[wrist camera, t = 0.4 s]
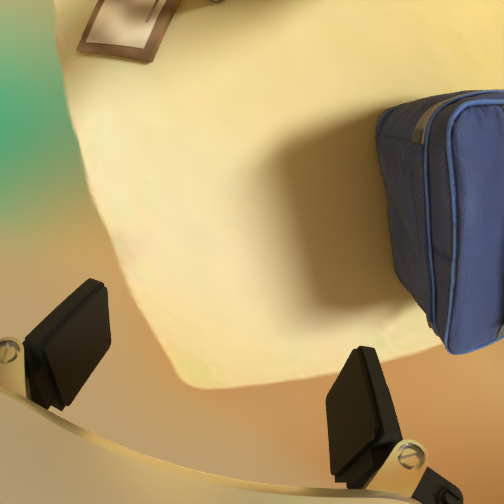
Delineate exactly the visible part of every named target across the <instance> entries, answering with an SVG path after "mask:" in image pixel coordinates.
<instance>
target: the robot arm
mask: <svg viewBox="0 0 504 504" xmlns="http://www.w3.org/2000/svg"><path fill="white" fill-rule="evenodd" d="M110 345H111V333H110V323H109V309H108V292H107V288H106V287H104V283H102V282H100V281H97V280H94V279H91V278H89V279H88V280H86V281H85V282H84V283H83V284H82V285H81V286H80V287H78V288H77V289H76V290H75V291H74V292H73V293H72V294H71V295H69V296H68V297H67V298H66V299H65V300H64V301H63V302H62V303H61V304H60V305H59V306H57V307H56V308H55V309H54V310H53V311H52V312H51V313H50V314H49V315H48V316H47V317H46V318H45V319H44V320H43V321H42V322H41V323H40V324H39V325H37V326H36V328H34V329H33V330H32V332H31V333H29V334H28V335H27V336H26V337H25V341H24V342H23V343H21V341H19V340H18V339H15V338H13V337H6V338H1V339H0V504H463V495H462V493H461V491H460V490H459V489H458V488H457V487H456V486H455V485H453V484H452V483H450V482H449V481H447V480H446V479H445V478H443V477H441V476H440V475H439V474H437V473H436V472H434V471H433V470H432V469H430V468H429V467H428V466H427V465H428V462H429V459H428V458H429V457H428V454H427V451H426V449H425V448H424V447H423V446H422V445H421V444H420V443H419V442H416V441H414V440H409V439H408V440H403V439H402V435H401V431H400V427H399V423H398V420H397V416H396V412H395V409H394V406H393V402H392V398H391V395H390V392H389V388H388V386H387V384H386V381H385V378H384V375H383V372H382V368H381V365H380V362H379V359H378V356H377V353H376V350H375V349H374V348H372V347H365V346H359V347H358V348H357V349H353V350H352V352H351V354H350V356H349V358H348V359H347V361H346V363H345V365H344V367H343V368H342V370H341V372H340V374H339V376H338V378H337V379H336V381H335V383H334V384H333V386H332V388H331V389H330V391H329V393H328V394H327V397H326V413H327V424H328V438H329V453H330V469H331V474H332V475H335V482H342V483H343V482H346V484H347V488H348V489H325V488H306V487H293V486H283V485H274V484H265V483H258V482H251V481H246V480H240V479H235V478H229V477H224V476H219V475H215V474H210V473H206V472H202V471H198V470H194V469H190V468H186V467H183V466H179V465H176V464H172V463H169V462H166V461H163V460H160V459H157V458H154V457H150V456H148V455H145V454H142V453H139V452H137V451H134V450H131V449H129V448H126V447H123V446H121V445H118V444H116V443H114V442H111V441H109V440H107V439H104V438H102V437H100V436H98V435H95V434H93V433H91V432H89V431H87V430H85V429H83V428H81V427H79V426H77V425H75V424H73V423H71V422H69V421H67V420H65V419H63V418H61V417H59V416H57V415H55V414H54V413H52V412H50V411H48V409H49V407H50V406H53V407H55V408H57V409H59V410H60V411H62V410H63V409H64V407H65V406H69V405H70V404H71V403H72V401H73V400H74V398H75V397H76V395H77V394H78V392H79V391H80V389H81V388H82V386H83V385H84V383H85V382H86V381H87V379H88V378H89V376H90V375H91V373H92V372H93V370H94V369H95V368H96V366H97V365H98V363H99V362H100V360H101V359H102V358H103V356H104V355H105V353H106V352H107V351H108V349H109V347H110Z"/></svg>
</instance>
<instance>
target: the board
mask: <svg viewBox="0 0 504 504" xmlns="http://www.w3.org/2000/svg"><path fill="white" fill-rule="evenodd" d="M180 1H181V0H99V1H98V3H97V5H96V7H95V9H94V11H93V13H92V15H91V17H90V19H89V22H88V24H87V26H86V28H85V31H84V33H83V35H82V38H81V40H80V43H79V45H78V48H77V50H76V51H79V52H88V53H98V54H106V55H114V56H121V57H128V58H134V59H140V60H146V61H151V62H153V59H154V57H155V54H156V52H157V50H158V47H159V45H160V43H161V40H162V38H163V36H164V34H165V32H166V29H167V27H168V25H169V23H170V21H171V19H172V17H173V15H174V13H175V11H176V9H177V7H178V5H179V3H180Z"/></svg>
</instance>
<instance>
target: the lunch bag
mask: <svg viewBox="0 0 504 504" xmlns="http://www.w3.org/2000/svg"><path fill="white" fill-rule="evenodd" d="M375 137H376V144H377V152H378V157H379V162H380V167H381V171H382V176H383V180H384V184H385V188H386V192H387V197H388V217H389V228H390V234H391V242H392V251H393V261H394V268H395V272H396V274H397V276H398V278H399V280H400V282H401V283H402V284H403V285H404V287H405V288H406V289H407V290H408V291H409V292H410V293H411V294H412V296H413V297H414V299H415V300H416V302H417V304H418V305H419V306H420V308H421V309H422V310H423V311H424V312H425V314H426V317H427V322H428V326H429V327H430V328H432V329H433V331H434V333H435V334H436V335H437V336H439V337H440V339H441V340H442V342H443V343H444V345H445V348H446V349H447V351H448V352H449V353H450V354H453V355H461V354H466V353H469V352H473V351H475V350H478V349H481V348H483V347H485V346H488V345H490V344H492V343H494V342H496V341H499V340H500V339H502V338H504V90H497V89H496V90H469V91H460V92H455V93H449V94H442V95H436V96H431V97H427V98H423V99H419V100H416V101H413V102H409V103H405V104H400V105H399V106H396V107H393V108H390V109H388V110H387V111H385V112H384V113H383V114H382V115H381V117H380V118H379V120H378V123H377V127H376V135H375Z"/></svg>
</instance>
